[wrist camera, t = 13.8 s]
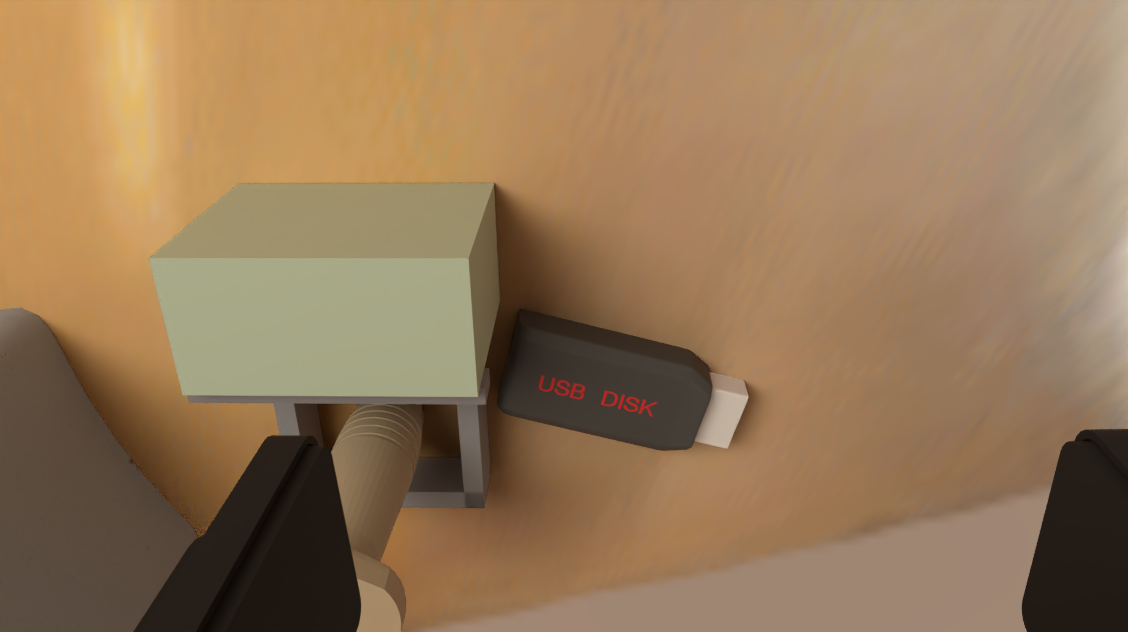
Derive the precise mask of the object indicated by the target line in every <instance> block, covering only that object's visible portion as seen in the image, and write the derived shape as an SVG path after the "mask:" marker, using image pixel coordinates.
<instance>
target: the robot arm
mask: <svg viewBox="0 0 1128 632" xmlns="http://www.w3.org/2000/svg"><path fill="white" fill-rule="evenodd" d="M360 616H361V596H360V591H359V586H358V581H357V576H356V571H355V566H354V561H353V556H352V551H351V546H350V541H349V537H348V532H347V527H346V522H345V517H344V512H343V507H342V502H341V497H340V492H339V487H338V482H337V477H336V472H335V467H334V462H333V457H332V454H331V451H330V449H329V447H327V446H319V445H318V442H317V440H316V439H315V437H313V436H311V435H280V436H269V437H267V438H266V439H265V441H264V442H263V443H262V445H261V447H260V448H259V450H258V451H257V453H256V454H255V456H254V457H253V459H252V461H251V462H250V464H249V465H248V467H247V468H246V470H245V472H244V473H243V475H242V476H241V478H240V479H239V481H238V483H237V484H236V486H235V487H234V489H233V490H232V492H231V494H230V495H229V497H228V498H227V500H226V501H225V503H224V504H223V506H222V508H221V509H220V511H219V512H218V514H217V515H216V517H215V519H214V520H213V522H212V523H211V525H210V526H209V528H208V530H207V531H206V533H205V534H204V535H203V536H201V537H199V538H197V539H195V540H194V541H193V543H192V544H191V545H190V546H189V547H188V548H187V550H186V551H185V553H184V555H183V556H182V558H181V559H180V561H179V562H178V564H177V565H176V567H175V568H174V570H173V571H172V573H171V575H170V576H169V578H168V579H167V581H166V582H165V584H164V585H163V587H162V588H161V590H160V591H159V593H158V595H157V596H156V598H155V599H154V601H153V602H152V604H151V605H150V607H149V608H148V610H147V611H146V613H145V615H144V616H143V618H142V619H141V621H140V622H139V624H138V625H137V627H136V628H135V630H134V631H133V632H357V629H358V626H359V622H360ZM1022 616H1023V621H1024V625H1025V628H1026V630H1027V632H1128V429H1100V430H1084V431H1081V432H1080V433H1079V434H1078V435H1077V436H1076V439H1075V441H1069V442H1067V443H1065V444H1064V445H1063V447H1062V449H1061V452H1060V456H1059V460H1058V463H1057V467H1056V471H1055V475H1054V479H1053V483H1052V487H1051V491H1050V495H1049V499H1048V503H1047V506H1046V511H1045V514H1044V518H1043V522H1042V526H1041V530H1040V534H1039V538H1038V542H1037V546H1036V550H1035V554H1034V558H1033V562H1032V565H1031V569H1030V573H1029V577H1028V581H1027V585H1026V589H1025V593H1024V597H1023V601H1022Z"/></svg>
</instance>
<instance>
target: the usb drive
mask: <svg viewBox="0 0 1128 632" xmlns="http://www.w3.org/2000/svg"><path fill="white" fill-rule="evenodd" d="M747 400H748V393H747V389H746V386H745V383H744V380H742V379H738V378H734V377H729V376H725V375H721V374H717V373H713V372H709V367H708V365H707V364H706V363H705V362H704V361H702V360H701V359H700V358H699V357H698V356H696V355H695V354H694V353H693V352H692V351H690V350H688V349H684V348H681V347H677V346H672V345H668V344H664V343H660V342H656V341H652V340H648V339H644V338H640V337H635V336H631V335H627V334H623V333H619V332H615V331H611V330H607V329H603V328H598V327H594V326H590V325H586V324H582V323H578V322H574V321H570V320H566V319H561V318H557V317H553V316H549V315H545V314H541V313H537V312H532V311H528V310H523V309H520V312H519V316H518V320H517V324H516V327H515V331H514V335H513V339H512V343H511V347H510V351H509V354H508V358H507V362H506V366H505V370H504V374H503V377H502V381H501V385H500V389H499V393H498V398H497V403H498V407H499V409H500V410H501V411H502V412H503V413H506V414H508V415H511V416H515V417H519V418H523V419H527V420H531V421H535V422H540V423H544V424H548V425H553V426H557V427H561V428H566V429H570V430H574V431H578V432H583V433H587V434H591V435H596V436H600V437H604V438H609V439H613V440H617V441H622V442H626V443H630V444H634V445H639V446H643V447H647V448H652V449H656V450H662V451H667V450H687V449H689V448H691V447H692V445H693V443H694V441H695V442H699V443H703V444H708V445H712V446H716V447H720V448H725V449H727V448H728V446H729V443H730V441H731V439H732V436H733V434H734V432H735V429H736V427H737V424H738V422H739V420H740V417H741V415H742V412H743V410H744V408H745V405H746V403H747Z"/></svg>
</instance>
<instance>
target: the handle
mask: <svg viewBox="0 0 1128 632" xmlns="http://www.w3.org/2000/svg"><path fill="white" fill-rule="evenodd" d="M421 408H422V404H359V405H358V406H357V408H356V409H355V410H354V411H353V413H352V414H351V416H350V417H349V419H348V420H347V422H346V424H345V425H344V427H343V429H342V430H341V432H340V434H339V436H338V438H337V440H336V442H335V444H334V447H333V449H332V451H331V454H332V457H333V462H334V467H335V472H336V477H337V482H338V487H339V492H340V497H341V502H342V507H343V512H344V517H345V522H346V527H347V532H348V537H349V541H350V546H351V551H352V556H353V561H354V566H355V571H356V576H357V581H358V586H359V591H360V596H361V616H360V622H359V626H358V629H357V632H401V630H402V626H403V622H404V618H405V612H406V597H405V591H404V588H403V585H402V583H401V580H400V579H399V577H398V576H397V575H396V573H395V572H394V571H393V570H392V569H391V568H390V567H389V566H387V565H385V564H383V563H381V562H380V561H381V558H382V556H383V553H384V550H385V548H386V545H387V542H388V540H389V537H390V534H391V532H392V529H393V526H394V524H395V522H396V519H397V517H398V514H399V512H400V509H401V507H402V504H403V502H404V500H405V497H406V495H407V492H408V490H409V487H410V485H411V482H412V479H413V476H414V473H415V469H416V466H417V462H418V458H419V453H420V448H421V441H422V427H423V422H424V412H423V410H422V409H421Z"/></svg>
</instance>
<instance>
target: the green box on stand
mask: <svg viewBox="0 0 1128 632" xmlns="http://www.w3.org/2000/svg"><path fill="white" fill-rule="evenodd" d="M149 262H150V266H151V270H152V274H153V278H154V282H155V286H156V290H157V294H158V298H159V302H160V306H161V310H162V314H163V318H164V322H165V326H166V330H167V334H168V338H169V342H170V346H171V350H172V355H173V359H174V363H175V367H176V371H177V375H178V379H179V383H180V387H181V391H182V395H187V396H188V400H189V403H274V408H275V413H276V418H277V423H278V428H279V434H280V435H311V436H313V437H315V439H316V440H317V442H318V445H319V446H324V441H323V435H322V429H321V423H320V417H319V411H318V405H317V404H457V412H458V425H459V437H460V449H461V458H458V457H419V458H418V462H417V466H416V469H415V473H414V476H413V479H412V482H411V485H410V487H409V490H408V492H407V495H406V497H405V500H404V502H403V504H402V507H427V508H485V502H486V497H487V491H488V486H489V480H490V474H491V468H490V453H489V437H488V421H487V405H486V402H487V397H488V392H489V388H490V373H489V368H485V364H486V359H487V355H488V351H489V346H490V342H491V338H492V333H493V329H494V324H495V320H496V316H497V311H498V307H499V303H500V289H499V269H498V250H497V230H496V211H495V191H494V183H307V184H237V185H236V186H235V187H234V188H232V189H231V190H230V191H229V192H228V193H226V194H225V195H224V196H223V197H222V198H220V199H219V200H218V201H217V202H216V203H214V204H213V205H212V206H211V207H210V208H208V209H207V210H206V211H205V212H204V213H202V214H201V215H200V216H199V217H198V218H196V219H195V220H194V221H193V222H191V223H190V224H189V225H188V226H187V227H185V228H184V229H183V230H182V231H181V232H179V233H178V234H177V235H176V236H175V237H173V238H172V239H171V240H170V241H169V242H167V243H166V244H165V245H164V246H163V247H161V248H160V249H159V250H158V251H157V252H155V253H154V254H153V255H152V256H151V257H149Z"/></svg>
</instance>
